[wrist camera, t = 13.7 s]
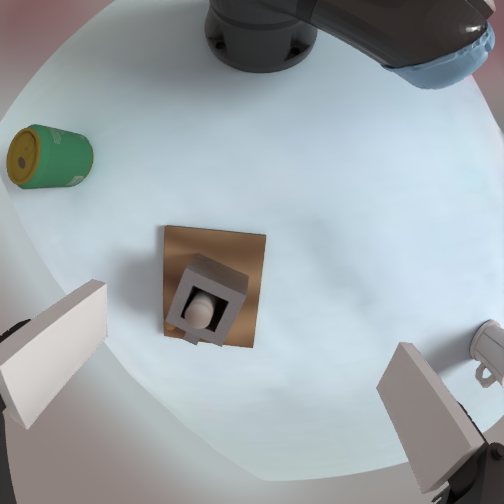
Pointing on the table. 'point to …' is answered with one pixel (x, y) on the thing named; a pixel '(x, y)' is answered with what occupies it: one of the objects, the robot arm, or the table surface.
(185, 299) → the grey hollow square block
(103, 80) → the table surface
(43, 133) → the beverage can
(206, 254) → the post base
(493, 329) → the cup
